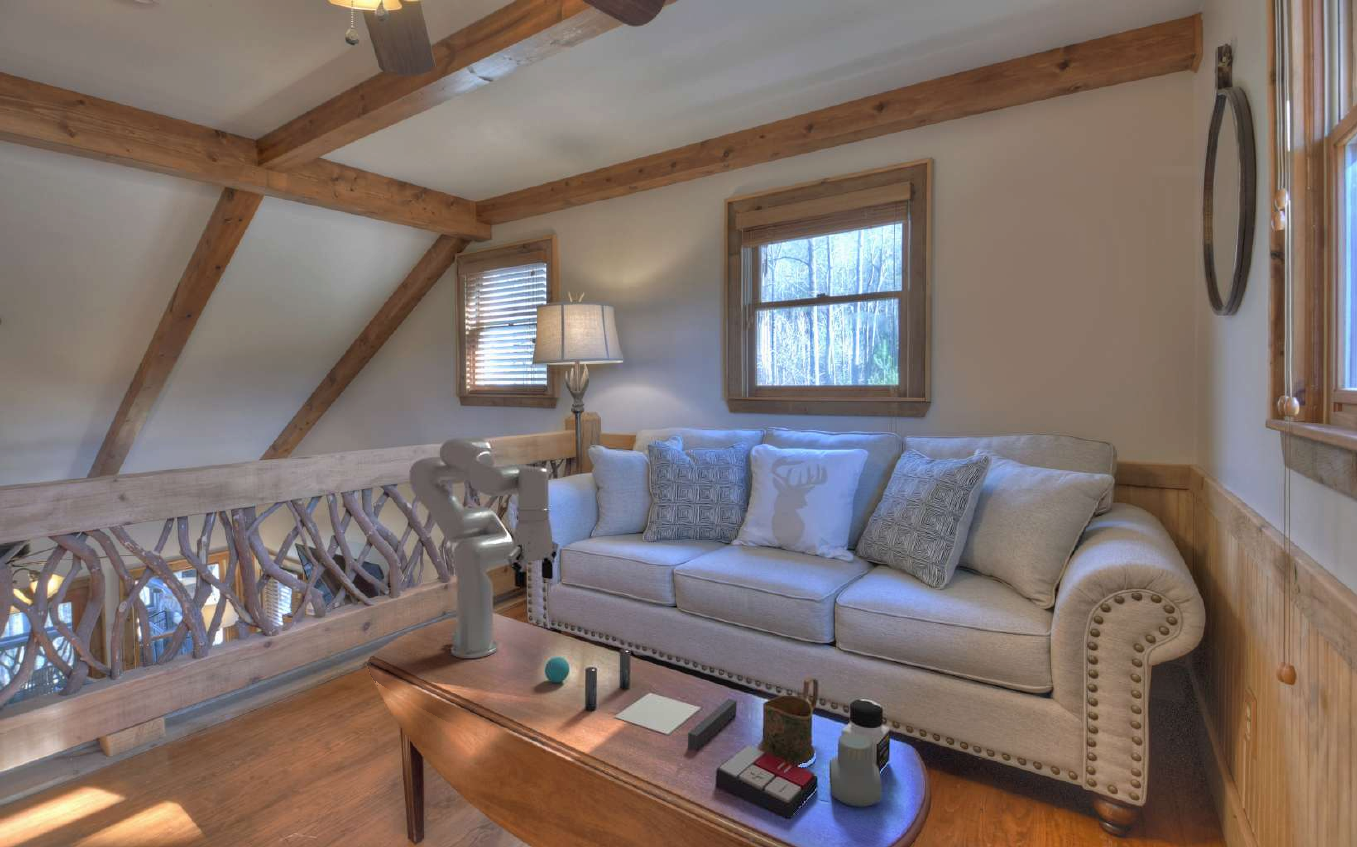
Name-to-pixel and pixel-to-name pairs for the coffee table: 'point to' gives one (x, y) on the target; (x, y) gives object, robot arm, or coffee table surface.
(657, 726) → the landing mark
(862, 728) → the medicine bottle
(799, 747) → the mug
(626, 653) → the post
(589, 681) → the post
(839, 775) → the air freshener
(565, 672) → the ball
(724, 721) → the wall
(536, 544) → the robot arm
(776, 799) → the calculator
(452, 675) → the coffee table surface
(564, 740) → the coffee table surface
